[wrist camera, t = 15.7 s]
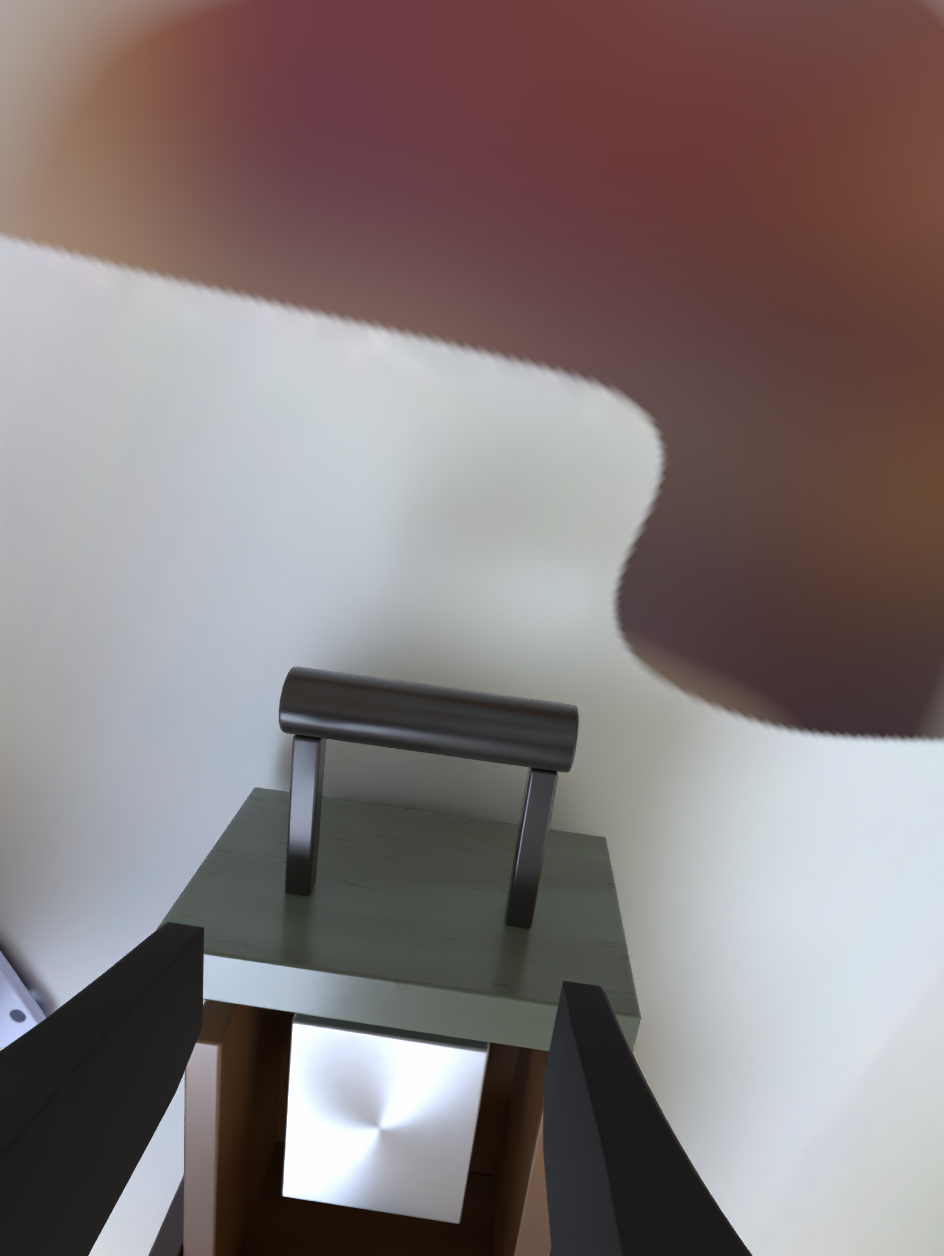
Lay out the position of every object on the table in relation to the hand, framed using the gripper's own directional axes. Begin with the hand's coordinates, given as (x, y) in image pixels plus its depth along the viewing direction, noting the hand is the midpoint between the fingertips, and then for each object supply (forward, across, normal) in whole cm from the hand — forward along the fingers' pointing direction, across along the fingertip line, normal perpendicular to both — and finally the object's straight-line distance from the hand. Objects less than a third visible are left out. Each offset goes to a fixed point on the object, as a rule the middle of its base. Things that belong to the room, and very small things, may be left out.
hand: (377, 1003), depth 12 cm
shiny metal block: (+7, 0, +7) cm, 10 cm away
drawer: (+9, 0, +5) cm, 10 cm away
